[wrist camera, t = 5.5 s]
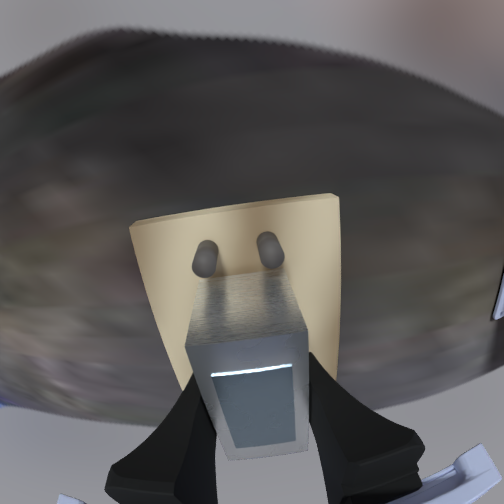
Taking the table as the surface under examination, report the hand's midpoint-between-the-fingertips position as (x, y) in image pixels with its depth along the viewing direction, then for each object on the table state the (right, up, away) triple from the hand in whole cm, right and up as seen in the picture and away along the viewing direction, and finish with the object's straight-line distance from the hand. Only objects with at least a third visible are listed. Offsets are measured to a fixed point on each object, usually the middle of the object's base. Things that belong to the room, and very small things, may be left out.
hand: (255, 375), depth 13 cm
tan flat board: (0, +2, +4) cm, 4 cm away
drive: (0, +1, +2) cm, 3 cm away
